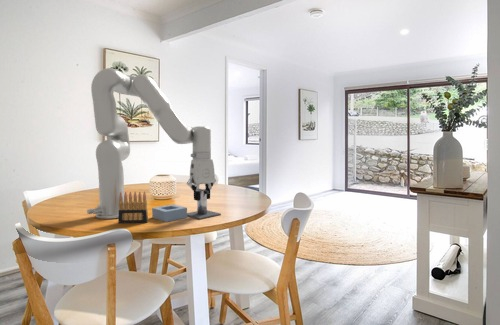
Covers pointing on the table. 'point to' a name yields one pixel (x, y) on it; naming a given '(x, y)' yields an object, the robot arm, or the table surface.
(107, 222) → the table surface
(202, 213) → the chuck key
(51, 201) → the table surface
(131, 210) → the ammunition clip
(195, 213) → the rubber mat
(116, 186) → the robot arm
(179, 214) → the block
